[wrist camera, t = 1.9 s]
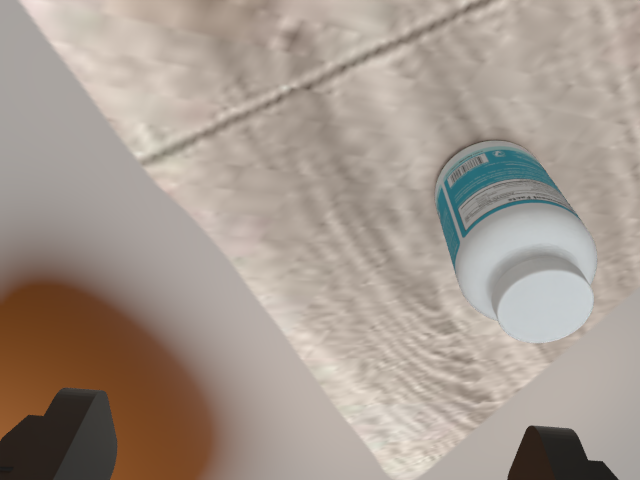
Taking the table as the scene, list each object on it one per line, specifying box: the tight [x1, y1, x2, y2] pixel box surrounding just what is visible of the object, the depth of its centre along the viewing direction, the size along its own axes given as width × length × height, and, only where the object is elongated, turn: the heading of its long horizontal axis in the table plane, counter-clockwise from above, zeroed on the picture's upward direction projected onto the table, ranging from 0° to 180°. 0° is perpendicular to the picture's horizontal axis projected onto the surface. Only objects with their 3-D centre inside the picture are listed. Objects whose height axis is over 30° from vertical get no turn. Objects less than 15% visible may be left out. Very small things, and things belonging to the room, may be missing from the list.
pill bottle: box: [435, 141, 597, 343], centre depth 33 cm, size 8×7×14 cm
